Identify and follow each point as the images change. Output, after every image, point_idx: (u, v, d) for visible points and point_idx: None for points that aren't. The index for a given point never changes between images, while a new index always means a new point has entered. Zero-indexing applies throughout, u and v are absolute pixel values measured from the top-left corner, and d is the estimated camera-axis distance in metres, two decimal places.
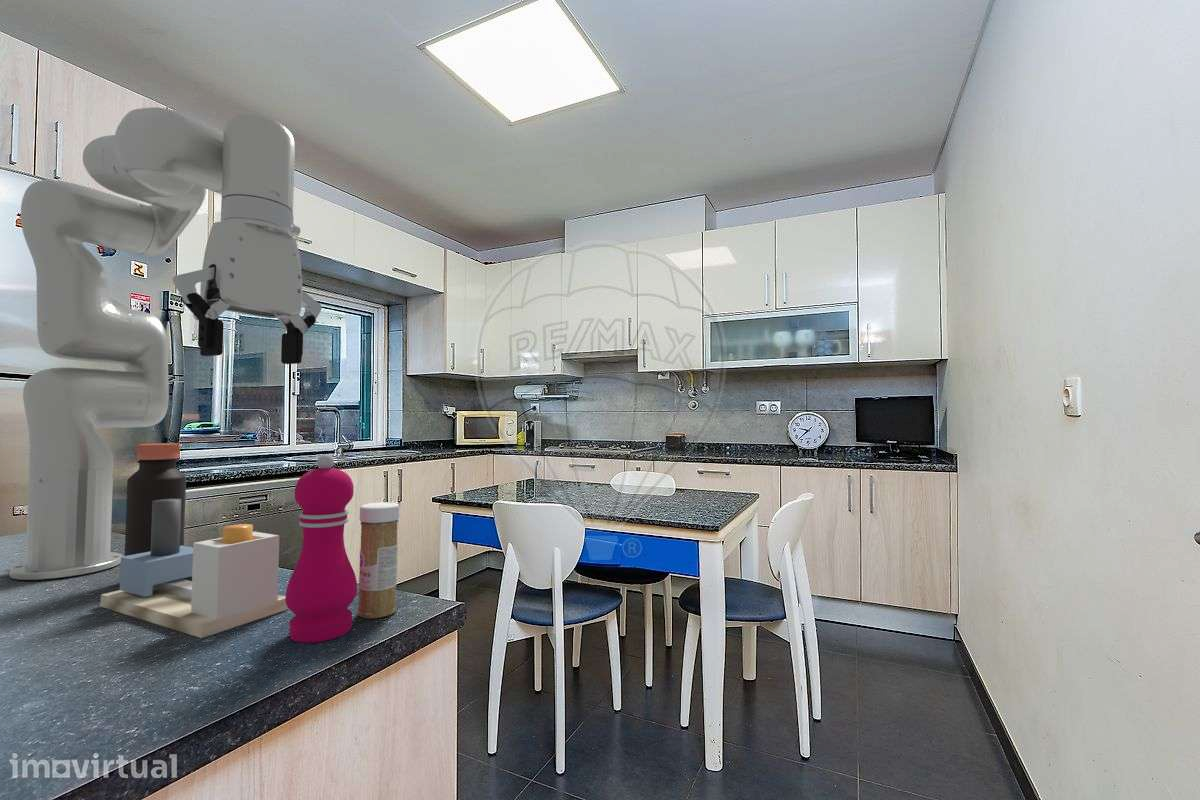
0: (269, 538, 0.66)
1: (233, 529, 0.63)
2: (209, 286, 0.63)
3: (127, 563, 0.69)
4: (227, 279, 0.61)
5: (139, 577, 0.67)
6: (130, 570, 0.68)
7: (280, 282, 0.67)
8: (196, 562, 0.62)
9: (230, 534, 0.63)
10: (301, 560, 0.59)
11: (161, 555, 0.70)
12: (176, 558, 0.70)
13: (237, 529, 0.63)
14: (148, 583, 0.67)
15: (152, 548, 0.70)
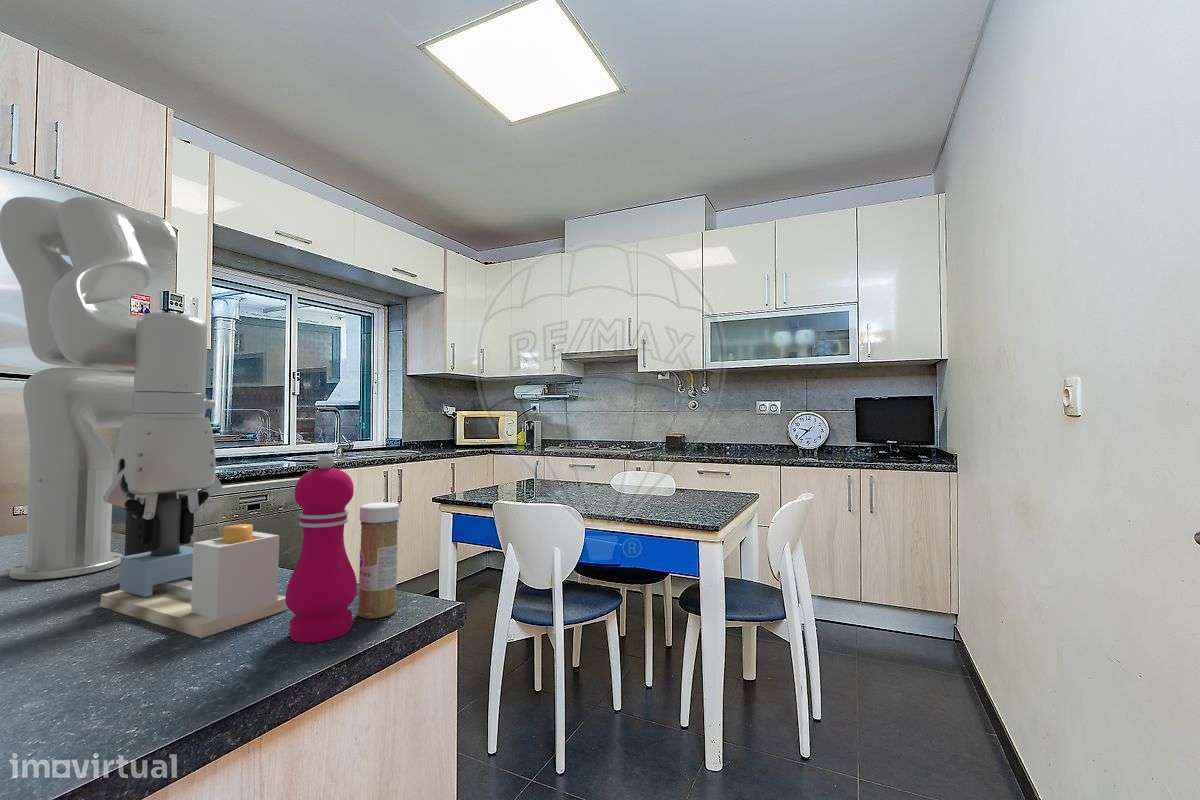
0: (269, 538, 0.66)
1: (233, 529, 0.63)
2: None
3: (127, 563, 0.69)
4: (135, 474, 0.67)
5: (139, 577, 0.67)
6: (130, 570, 0.68)
7: (191, 462, 0.72)
8: (196, 562, 0.62)
9: (230, 534, 0.63)
10: (301, 560, 0.59)
11: (161, 555, 0.70)
12: (176, 558, 0.70)
13: (237, 529, 0.63)
14: (148, 583, 0.67)
15: None
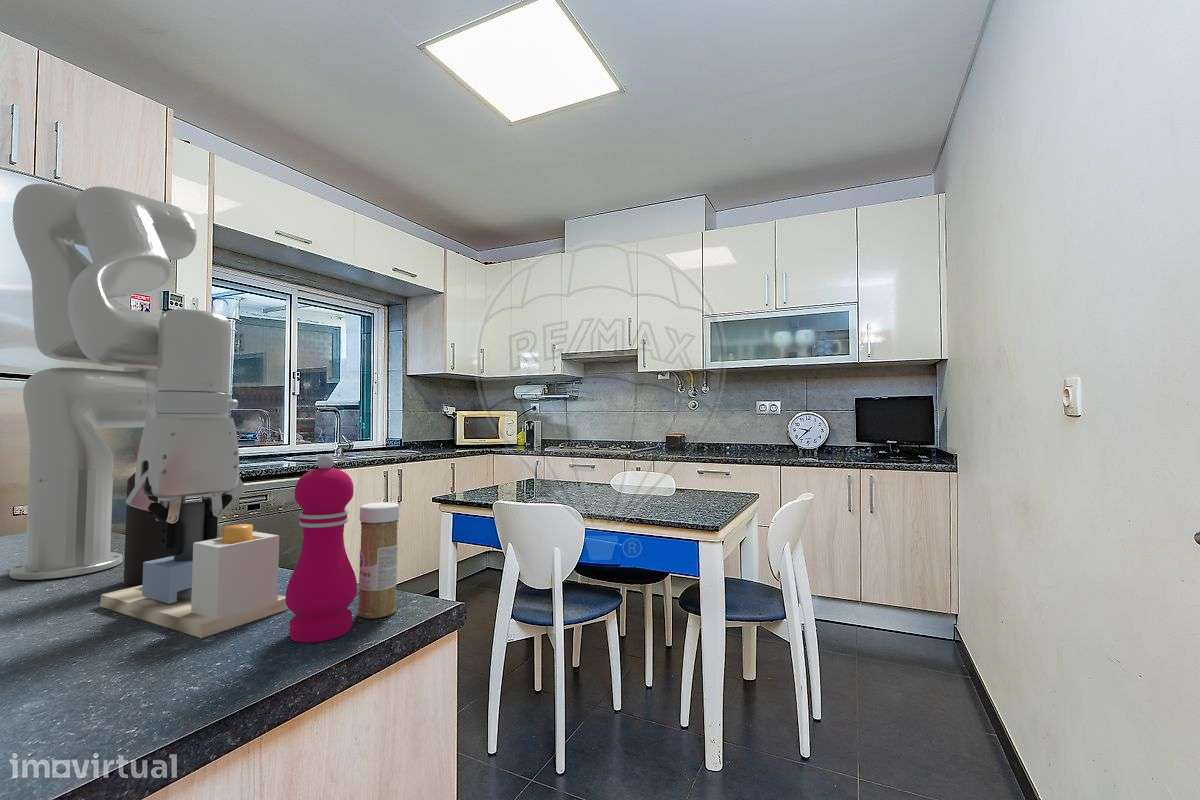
0: (269, 538, 0.66)
1: (233, 529, 0.63)
2: None
3: (150, 568, 0.66)
4: (159, 476, 0.64)
5: (162, 583, 0.65)
6: (154, 575, 0.66)
7: (215, 464, 0.70)
8: (196, 562, 0.62)
9: (230, 534, 0.63)
10: (301, 560, 0.59)
11: (185, 560, 0.67)
12: None
13: (237, 529, 0.63)
14: (172, 589, 0.65)
15: None
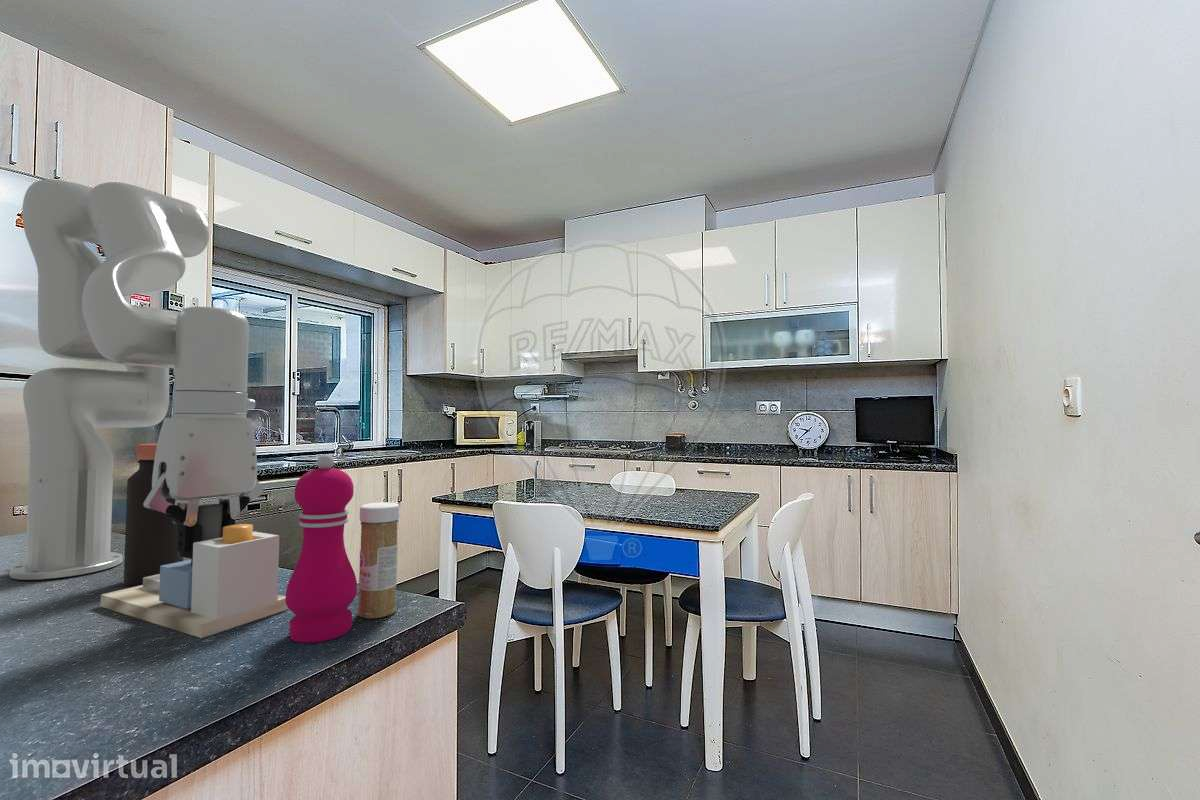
0: (269, 538, 0.66)
1: (233, 529, 0.63)
2: None
3: (167, 572, 0.65)
4: (177, 478, 0.63)
5: (181, 588, 0.63)
6: (171, 579, 0.64)
7: (233, 466, 0.68)
8: (196, 562, 0.62)
9: (230, 534, 0.63)
10: (301, 560, 0.59)
11: None
12: None
13: (237, 529, 0.63)
14: (191, 594, 0.63)
15: None
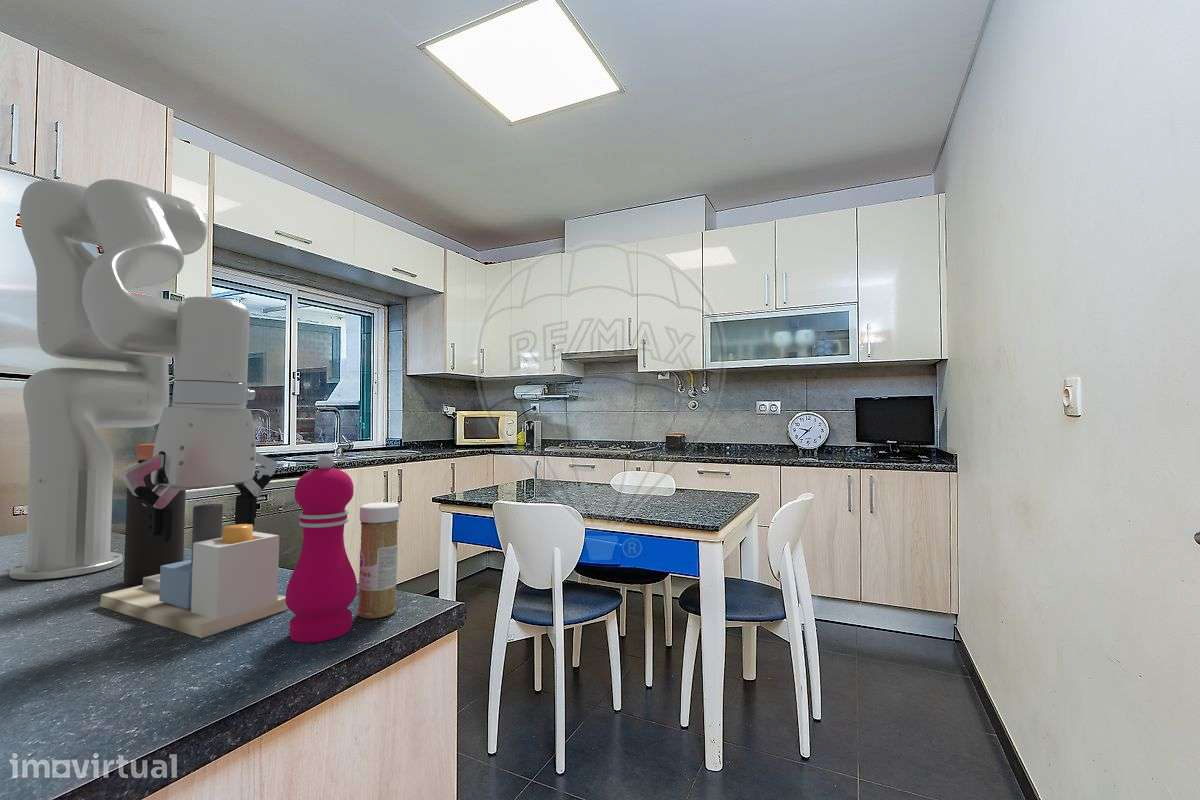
0: (269, 538, 0.66)
1: (233, 529, 0.63)
2: (160, 469, 0.65)
3: (168, 573, 0.65)
4: (176, 467, 0.63)
5: (181, 588, 0.63)
6: (171, 580, 0.64)
7: (232, 456, 0.68)
8: (196, 562, 0.62)
9: (230, 534, 0.63)
10: (301, 560, 0.59)
11: None
12: None
13: (237, 529, 0.63)
14: (191, 594, 0.63)
15: None
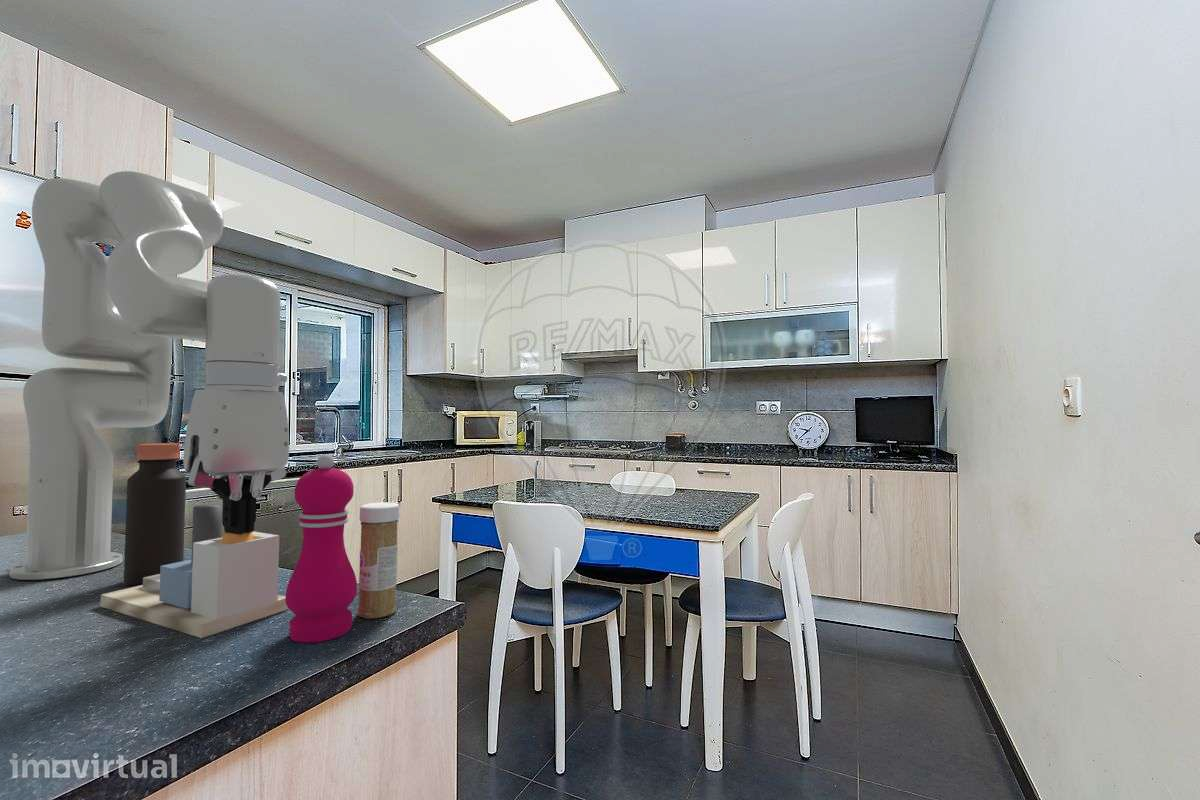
0: (269, 538, 0.66)
1: (233, 535, 0.63)
2: (192, 454, 0.62)
3: (168, 573, 0.65)
4: (210, 451, 0.60)
5: (181, 588, 0.63)
6: (171, 580, 0.64)
7: (266, 440, 0.65)
8: (196, 562, 0.62)
9: (230, 540, 0.63)
10: (301, 560, 0.59)
11: None
12: None
13: (237, 535, 0.63)
14: (191, 594, 0.63)
15: None
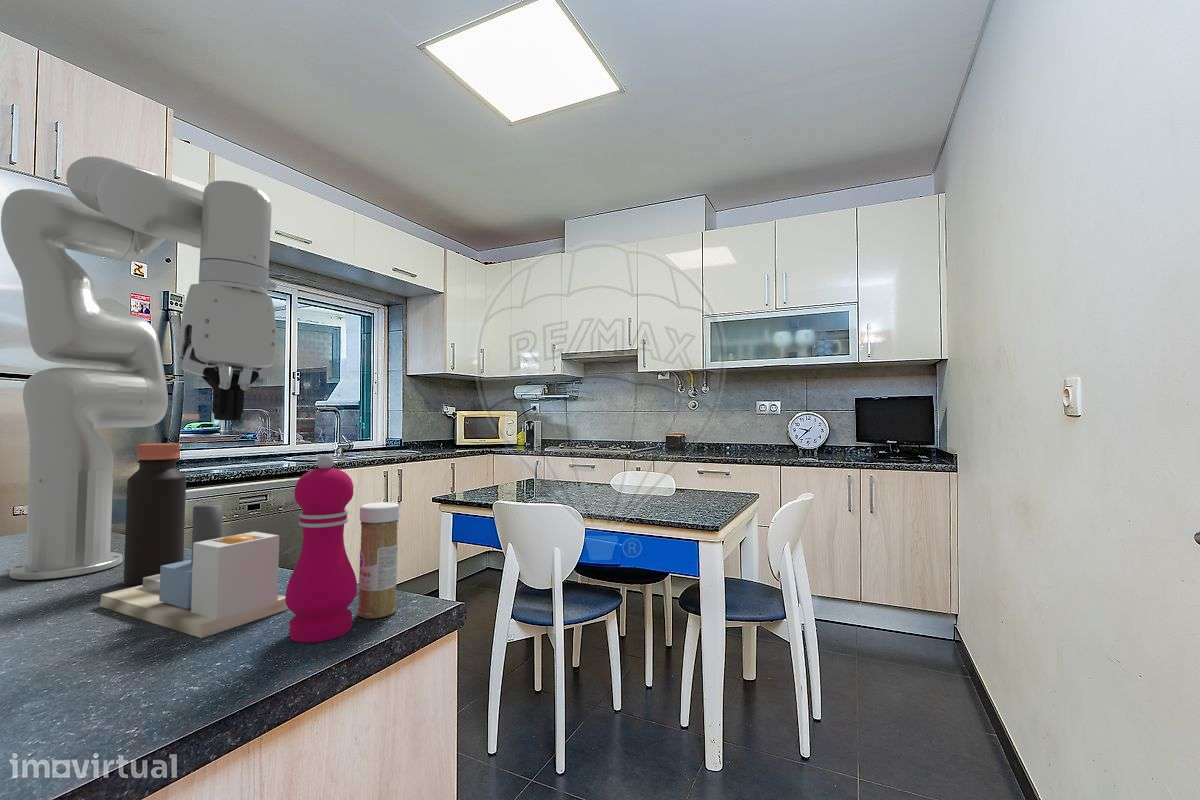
0: (269, 538, 0.66)
1: (233, 540, 0.63)
2: (186, 343, 0.67)
3: (168, 573, 0.65)
4: (202, 339, 0.66)
5: (181, 588, 0.63)
6: (171, 580, 0.64)
7: (254, 338, 0.71)
8: (196, 562, 0.62)
9: None
10: (301, 560, 0.59)
11: None
12: None
13: (237, 540, 0.63)
14: (191, 594, 0.63)
15: None
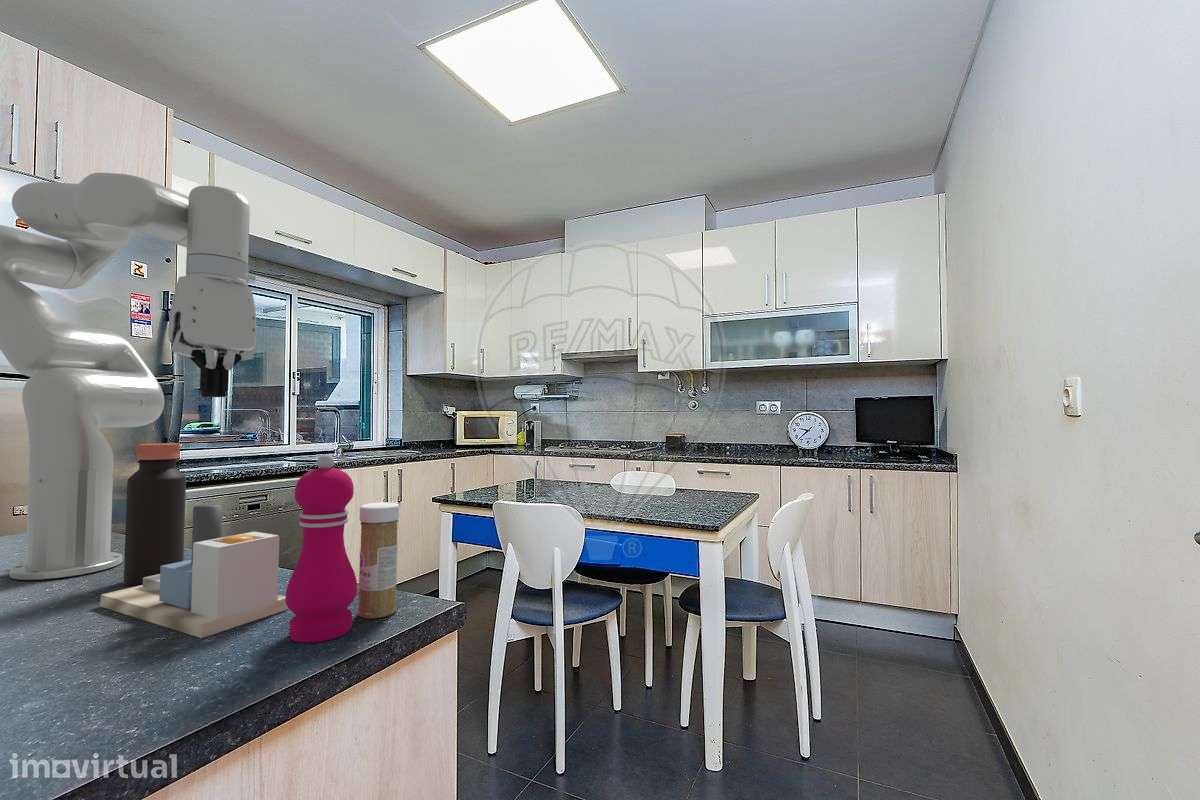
0: (269, 538, 0.66)
1: (233, 540, 0.63)
2: (175, 329, 0.77)
3: (168, 573, 0.65)
4: (189, 324, 0.75)
5: (181, 588, 0.63)
6: (171, 580, 0.64)
7: (236, 324, 0.80)
8: (196, 562, 0.62)
9: None
10: (301, 560, 0.59)
11: None
12: None
13: (237, 540, 0.63)
14: (191, 594, 0.63)
15: None
